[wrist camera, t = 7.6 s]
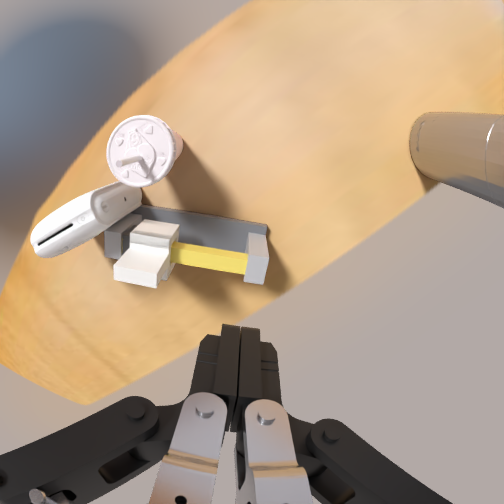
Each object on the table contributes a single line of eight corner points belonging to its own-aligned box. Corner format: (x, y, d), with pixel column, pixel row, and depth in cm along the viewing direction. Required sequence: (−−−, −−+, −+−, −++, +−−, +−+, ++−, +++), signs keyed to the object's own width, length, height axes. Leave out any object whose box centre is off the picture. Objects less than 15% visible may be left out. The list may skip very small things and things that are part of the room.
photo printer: (135, 172, 32) (81, 190, 20) (148, 204, 33) (102, 237, 22) (75, 204, 33) (16, 234, 21) (87, 233, 34) (34, 271, 23)
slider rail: (266, 224, 35) (272, 251, 27) (258, 261, 37) (261, 296, 29) (130, 202, 33) (101, 222, 26) (129, 240, 35) (102, 267, 28)
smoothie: (150, 179, 32) (95, 210, 19) (136, 129, 30) (71, 132, 17) (201, 163, 32) (169, 185, 19) (187, 111, 29) (145, 98, 16)
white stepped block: (179, 224, 30) (157, 257, 22) (176, 261, 32) (156, 302, 24) (144, 219, 30) (113, 249, 22) (143, 255, 31) (114, 294, 24)
